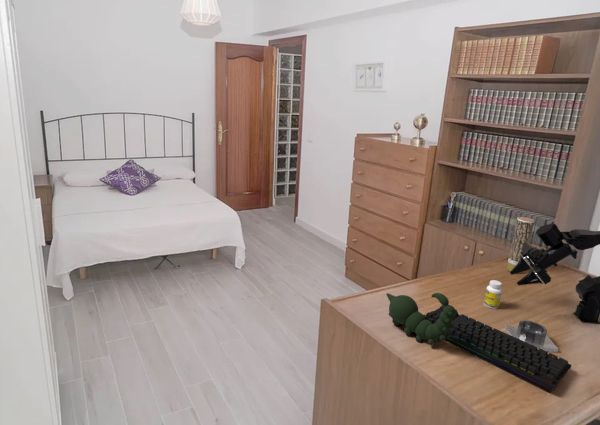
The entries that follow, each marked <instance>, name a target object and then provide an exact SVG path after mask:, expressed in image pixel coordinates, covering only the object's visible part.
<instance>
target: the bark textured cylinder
mask: <svg viewBox="0 0 600 425" xmlns="http://www.w3.org/2000/svg"><path fill="white" fill-rule="evenodd" d="M534 225H535V219H532V218H529V217H528V216H527V217H525V216H519V217H518V216H517V219H516V224H515V228H514V232H513V237H512V242H511V246H510V251H509V255H508V259H507V260H508V261H507V265H506V270H507V271H508V272H509V273H510V272H511V270H512V269H513V268H514V267H515V266H516V265H517V263H518V262H519V260H520V255H521V253H520V252H522V250H521V248H522V247H523V246H524V245H525V244H526V243H528V244H530V243H531V238H532V235H533V229H534ZM521 256H522V255H521ZM520 274H523V272H520V273H517V275H520Z"/></svg>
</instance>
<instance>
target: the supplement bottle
mask: <svg viewBox="0 0 600 425" xmlns="http://www.w3.org/2000/svg"><path fill="white" fill-rule="evenodd" d="M501 287H502V282H501V281H499V280H495V279H492V280H490V281H489V284H488V285H487V286H486V289H485V294H484V299H483V305H484V306H485V307H486V308H489V309H493V310H495V309H498V308H499V307H500V304H501V303H500V302H501V299H502V298H501V297H502V294H503V289H502V288H501Z"/></svg>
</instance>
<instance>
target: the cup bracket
mask: <svg viewBox="0 0 600 425" xmlns="http://www.w3.org/2000/svg"><path fill="white" fill-rule="evenodd" d="M504 330H505V332H506V334H509V335H511V336H513V337H515V338H518V339H520V340H522V341H524V342H527V343H529V344H531V345H533V346H536V347H537V350H539V349H542V350H544V351H547V352H549V353H558V352H559V348H558V347H557V346H556V345H555V343H554V342H553V341H552V340H551V338H550V337H549V336H548V335H547V333H548V329H547V328H546V327H545V326H544V325H542V324H540V323H538V322H535V321H532V320H521V321H519V323H518V326H517V325H508V324H507V325H506V324H505V325H504Z"/></svg>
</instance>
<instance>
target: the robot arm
mask: <svg viewBox="0 0 600 425" xmlns="http://www.w3.org/2000/svg"><path fill="white" fill-rule="evenodd" d="M535 234H536V235H537V237H538V238H539V239H540V240H541V241H542V243H543V244H544V245H545V246H546V247H547V248H546V249H545V248H537V247H536V246H533V245H532V244H530V243H529V244H528V243H526V244H525V245H524V246H523V247H522V248H521V250H522V252H520V253H521V255H522V256H521V255H520V260H519V262H518V263H517V265H516V266H515V267H514V268H513V269H512V270H511V272H509V274H510V275H511V276H513V275H516V274H517V273H520V272H522V273H523V272H526V271H528V273H527V274H526V275H525V276H523V277H521V279H519V280H518V281H517V282H516V284H517V285H518V286H524V285H525V286H526V285H533V284H534V285H535V284H538V285H539V284H541V285H543V284H544V285H547V284H550V283H551V281H552V277H551V276H550V274H548V271H547V269H549V268H551V267H552V266H554V267H557V266H558V263H560V262H561V261H563V260H564V259H566V258H568V257H569V256H571V258H573V259H574V260H575V259H577V257H578V255H577V254H578V252H579V251H585V250H589V249H593V248H595V247H597V246H600V230H590V229H577V228H576V229H572V230H570V231H560V229H559V228H558V225H556V223H554V222H551V223H548V224H545V225H542V226H540V227H539V228H537V229H536V231H535ZM563 241H564V242H563ZM565 242H566V243H565ZM572 247H573V248H572ZM520 274H521V273H520ZM517 275H518V274H517ZM575 292H576V293H577V295H578V298H579V299H580V300H579V303H578V304H577V305H576V308H575V311H573V315H574V316H575V317H576V318H577V319H578V320H580V321H579V322H582V323H585V324H599V325H600V320H599V318H600V275H599V276H596V277H592V276H591V275H586V276H585V277H584V278H582V279H580V280H578V283H577V284H575Z"/></svg>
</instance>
